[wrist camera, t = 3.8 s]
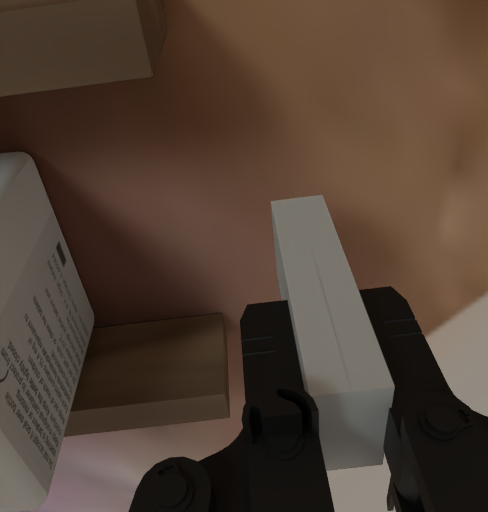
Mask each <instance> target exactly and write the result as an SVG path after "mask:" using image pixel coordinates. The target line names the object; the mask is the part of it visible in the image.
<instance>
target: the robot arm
mask: <svg viewBox="0 0 488 512" xmlns="http://www.w3.org/2000/svg"><path fill="white" fill-rule="evenodd" d="M271 211H272V223H273V235H274V247H275V259H276V271H277V278H278V283H279V289H280V295H281V300H282V301H274V302H265V303H257V304H248V305H247V306H246V309H245V311H244V313H243V315H242V318H241V320H240V329H241V341H242V342H241V343H242V355H243V371H244V385H245V400H246V404H245V405H244V408H243V414H242V424H243V429H242V431H241V432H240V434H239V435H238V437H237V438H236V439H235V440H234V441H233V442H232V443H231V444H230V445H229V446H228V447H226V448H224V449H223V450H221V451H219V452H217V453H215V454H213V455H211V456H209V457H206V458H204V459H202V460H200V461H198V462H197V461H195V460H192V459H189V458H186V457H172V458H168V459H166V460H163V461H161V462H159V463H157V464H155V465H154V466H153V467H152V468H151V469H150V470H149V471H148V472H147V473H146V474H145V475H144V476H143V478H142V480H141V482H140V484H139V485H138V487H137V489H136V492H135V495H134V498H133V501H132V504H131V506H130V509H129V512H334V507H333V502H332V497H331V492H330V487H329V482H328V477H327V472H326V471H327V470H337V469H346V468H355V467H363V466H373V465H381V464H383V458H384V453H385V456H386V459H387V463H388V465H389V469H390V472H391V478H390V484H389V489H388V494H387V508H388V511H391V510H393V508H394V506H395V509H396V512H488V417H487V416H484V415H481V414H479V413H477V412H475V411H473V410H471V409H470V407H469V406H467V405H466V404H464V403H463V402H462V401H460V400H459V399H458V398H457V397H456V396H455V395H454V394H453V392H452V391H451V389H450V388H449V386H448V384H447V382H446V380H445V378H444V376H443V374H442V372H441V370H440V368H439V366H438V364H437V362H436V360H435V358H434V356H433V354H432V351H431V349H430V347H429V345H428V343H427V341H426V339H425V337H424V335H422V331H421V329H420V327H419V325H418V323H417V321H416V320H415V316H414V314H413V312H412V310H411V308H410V306H409V304H408V302H407V300H406V299H405V298H404V297H402V296H401V295H400V294H399V293H398V292H397V291H396V290H394V289H393V288H392V287H391V286H389V287H381V288H373V289H364V290H358V288H357V285H356V282H355V280H354V277H353V274H352V272H351V269H350V267H349V264H348V261H347V259H346V256H345V253H344V251H343V248H342V245H341V243H340V240H339V237H338V235H337V232H336V229H335V227H334V224H333V221H332V219H331V216H330V213H329V211H328V208H327V206H326V203H325V200H324V198H323V195H316V196H308V197H300V198H292V199H284V200H276V201H271Z"/></svg>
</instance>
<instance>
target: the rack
mask: <svg viewBox="0 0 488 512" xmlns="http://www.w3.org/2000/svg"><path fill="white" fill-rule="evenodd" d="M166 33H167V29H166V24H165V19H164V14H163V9H162V4H161V0H0V97H2V96H9V95H17V94H25V93H32V92H40V91H48V90H55V89H63V88H71V87H78V86H86V85H94V84H101V83H109V82H117V81H124V80H132V79H140V78H147V77H153V74H154V71H155V68H156V65H157V62H158V58H159V55H160V52H161V49H162V46H163V42H164V39H165V36H166ZM222 418H230V409H229V383H228V358H227V336H226V331H225V326H224V321H223V316H222V313H218V314H210V315H202V316H193V317H185V318H176V319H168V320H160V321H151V322H143V323H135V324H126V325H118V326H109V327H101V328H93V329H92V332H91V336H90V340H89V344H88V347H87V351H86V355H85V358H84V362H83V366H82V369H81V373H80V377H79V381H78V384H77V388H76V392H75V395H74V399H73V403H72V407H71V410H70V414H69V418H68V421H67V425H66V429H65V433H64V436H63V437H65V436H74V435H83V434H91V433H100V432H109V431H118V430H126V429H135V428H144V427H152V426H161V425H170V424H179V423H187V422H196V421H205V420H213V419H222Z"/></svg>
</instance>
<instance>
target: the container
mask: <svg viewBox="0 0 488 512" xmlns="http://www.w3.org/2000/svg"><path fill="white" fill-rule="evenodd" d="M93 325H94V313H93V311H92V308H91V306H90V303H89V301H88V298H87V296H86V293H85V290H84V288H83V285H82V283H81V280H80V278H79V275H78V273H77V270H76V267H75V265H74V262H73V260H72V257H71V255H70V252H69V249H68V247H67V244H66V242H65V239H64V237H63V234H62V232H61V229H60V226H59V224H58V221H57V219H56V216H55V214H54V211H53V209H52V206H51V203H50V201H49V198H48V196H47V193H46V191H45V188H44V185H43V183H42V180H41V178H40V175H39V173H38V170H37V168H36V165H35V162H34V160H33V159H32V157H31V156H30V155H28V154H27V153H25V152H19V151H18V152H7V153H0V512H16V511H27V510H34V509H36V508H38V507H39V506H41V505H42V504H43V503H44V501H45V499H46V498H47V496H48V492H49V488H50V484H51V481H52V477H53V473H54V470H55V466H56V462H57V459H58V455H59V451H60V447H61V444H62V440H63V436H64V433H65V429H66V425H67V421H68V418H69V414H70V410H71V407H72V403H73V399H74V395H75V392H76V388H77V384H78V381H79V377H80V373H81V369H82V366H83V362H84V358H85V355H86V351H87V347H88V344H89V340H90V336H91V332H92V329H93Z"/></svg>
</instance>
